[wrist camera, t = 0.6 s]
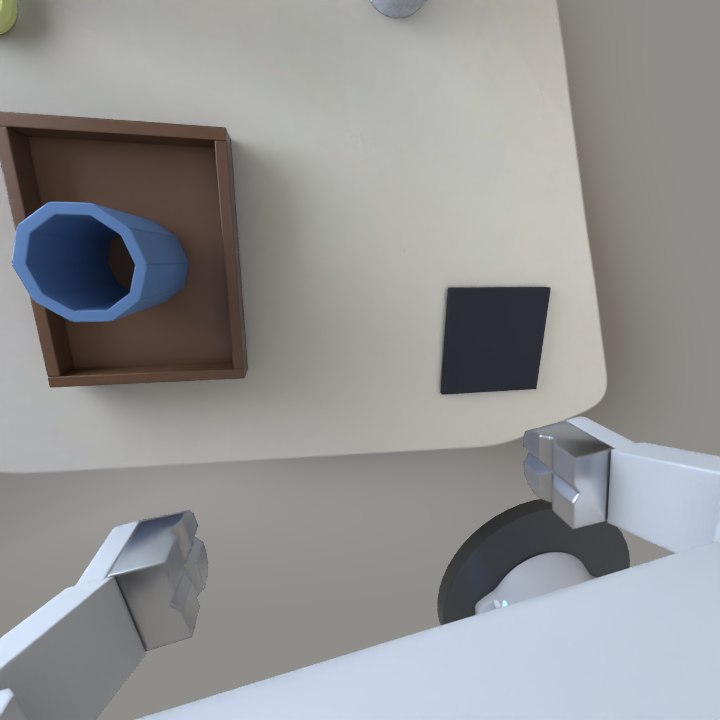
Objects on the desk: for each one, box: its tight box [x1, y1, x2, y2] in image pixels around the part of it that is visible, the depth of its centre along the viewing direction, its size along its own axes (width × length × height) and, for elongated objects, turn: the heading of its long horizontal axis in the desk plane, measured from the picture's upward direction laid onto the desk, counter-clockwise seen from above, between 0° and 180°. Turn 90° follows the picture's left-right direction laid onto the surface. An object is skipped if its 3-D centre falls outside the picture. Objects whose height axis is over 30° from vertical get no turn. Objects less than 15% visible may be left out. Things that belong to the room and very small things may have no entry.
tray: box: [0, 112, 248, 387], centre depth 27 cm, size 18×14×2 cm
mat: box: [441, 287, 551, 394], centre depth 35 cm, size 10×10×1 cm
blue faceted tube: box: [12, 202, 189, 322], centre depth 23 cm, size 6×6×9 cm
